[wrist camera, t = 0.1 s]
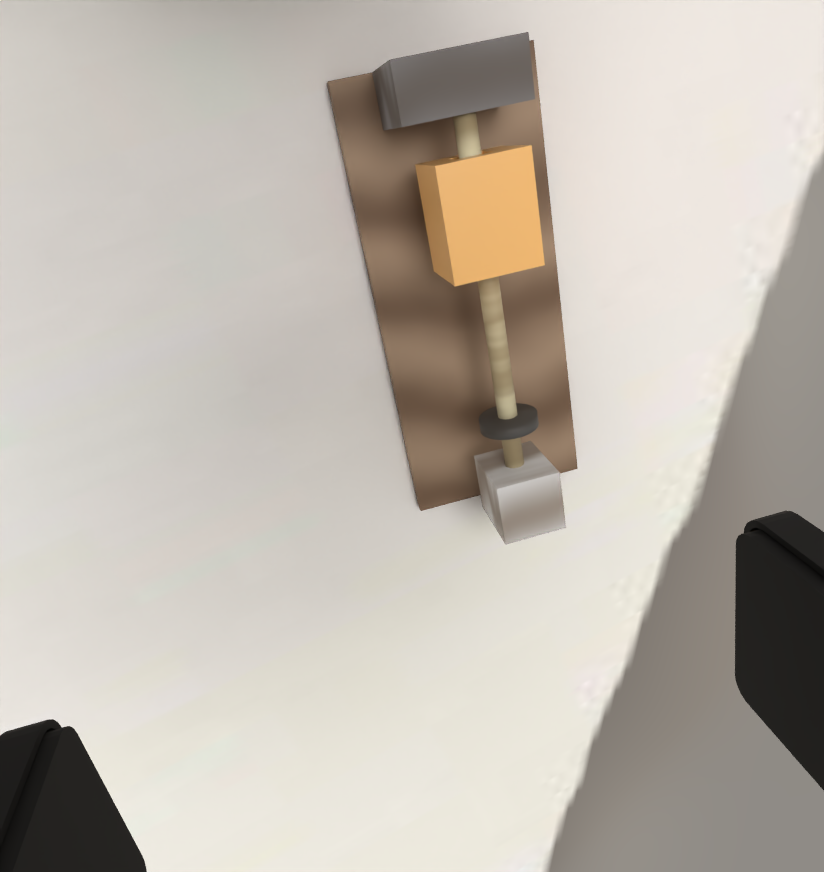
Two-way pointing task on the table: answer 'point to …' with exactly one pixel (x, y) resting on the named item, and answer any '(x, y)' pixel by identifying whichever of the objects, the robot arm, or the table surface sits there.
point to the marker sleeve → (482, 214)
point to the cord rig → (461, 286)
